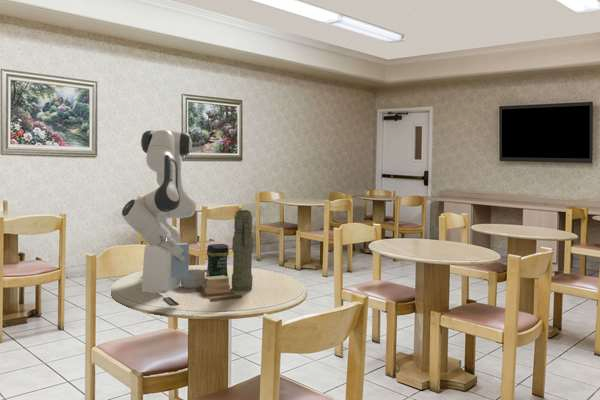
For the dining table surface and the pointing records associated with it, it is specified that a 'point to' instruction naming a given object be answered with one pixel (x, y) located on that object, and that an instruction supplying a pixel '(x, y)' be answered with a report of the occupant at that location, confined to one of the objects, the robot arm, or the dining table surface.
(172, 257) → the tall pale blue box
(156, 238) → the robot arm
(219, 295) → the tray
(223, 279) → the offcut top
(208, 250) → the coffee jar
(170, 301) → the mat
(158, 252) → the milk
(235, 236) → the thermos
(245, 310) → the dining table surface
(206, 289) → the offcut low
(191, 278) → the teacup
